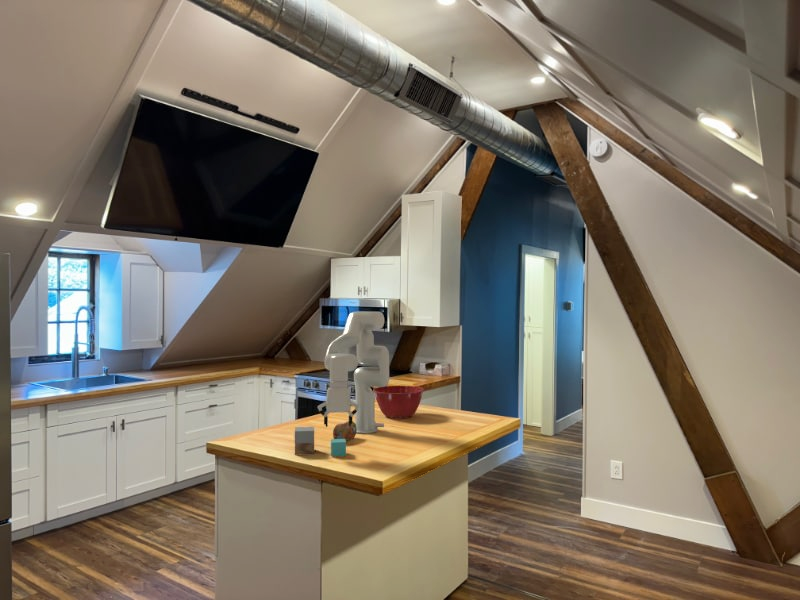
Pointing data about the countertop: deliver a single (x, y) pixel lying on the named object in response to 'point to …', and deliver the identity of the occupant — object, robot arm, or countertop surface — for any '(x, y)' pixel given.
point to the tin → (344, 431)
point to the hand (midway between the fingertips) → (338, 426)
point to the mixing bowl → (398, 400)
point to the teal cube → (338, 447)
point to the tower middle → (304, 434)
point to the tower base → (304, 448)
